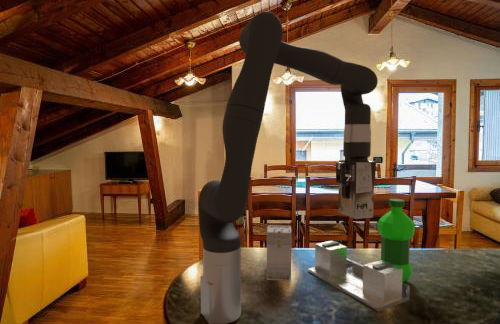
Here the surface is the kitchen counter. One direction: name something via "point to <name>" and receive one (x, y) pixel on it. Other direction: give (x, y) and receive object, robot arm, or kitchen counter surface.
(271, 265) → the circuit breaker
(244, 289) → the kitchen counter surface
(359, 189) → the coffee box
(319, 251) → the plate
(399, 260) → the plastic bottle
